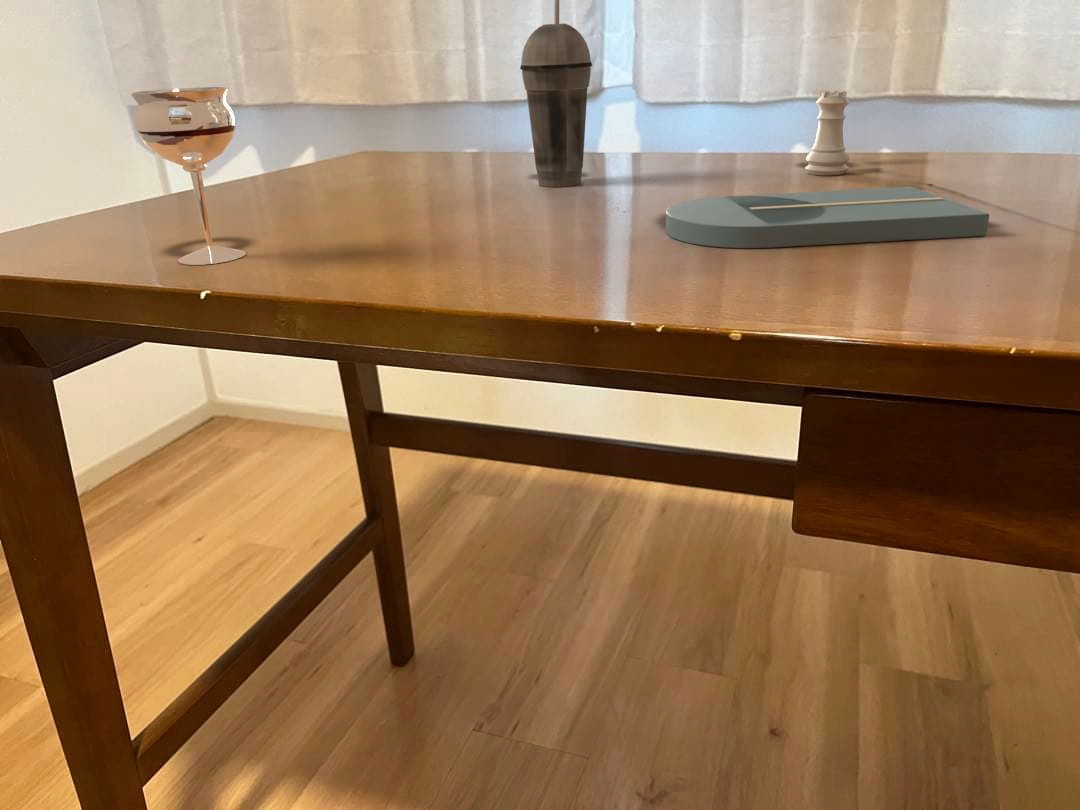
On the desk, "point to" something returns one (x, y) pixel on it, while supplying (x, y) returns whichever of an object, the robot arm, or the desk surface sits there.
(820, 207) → the board
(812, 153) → the rook chess piece
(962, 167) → the desk surface
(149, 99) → the wineglass
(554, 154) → the beverage cup
